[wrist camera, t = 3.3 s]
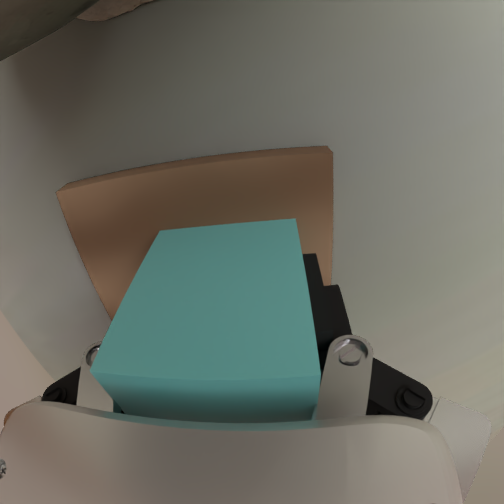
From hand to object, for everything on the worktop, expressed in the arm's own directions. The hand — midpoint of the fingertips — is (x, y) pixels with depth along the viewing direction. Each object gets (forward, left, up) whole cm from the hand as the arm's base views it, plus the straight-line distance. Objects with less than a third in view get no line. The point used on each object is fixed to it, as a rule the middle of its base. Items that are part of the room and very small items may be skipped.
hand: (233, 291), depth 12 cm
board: (+10, -1, -2) cm, 10 cm away
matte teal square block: (0, 0, -1) cm, 1 cm away
